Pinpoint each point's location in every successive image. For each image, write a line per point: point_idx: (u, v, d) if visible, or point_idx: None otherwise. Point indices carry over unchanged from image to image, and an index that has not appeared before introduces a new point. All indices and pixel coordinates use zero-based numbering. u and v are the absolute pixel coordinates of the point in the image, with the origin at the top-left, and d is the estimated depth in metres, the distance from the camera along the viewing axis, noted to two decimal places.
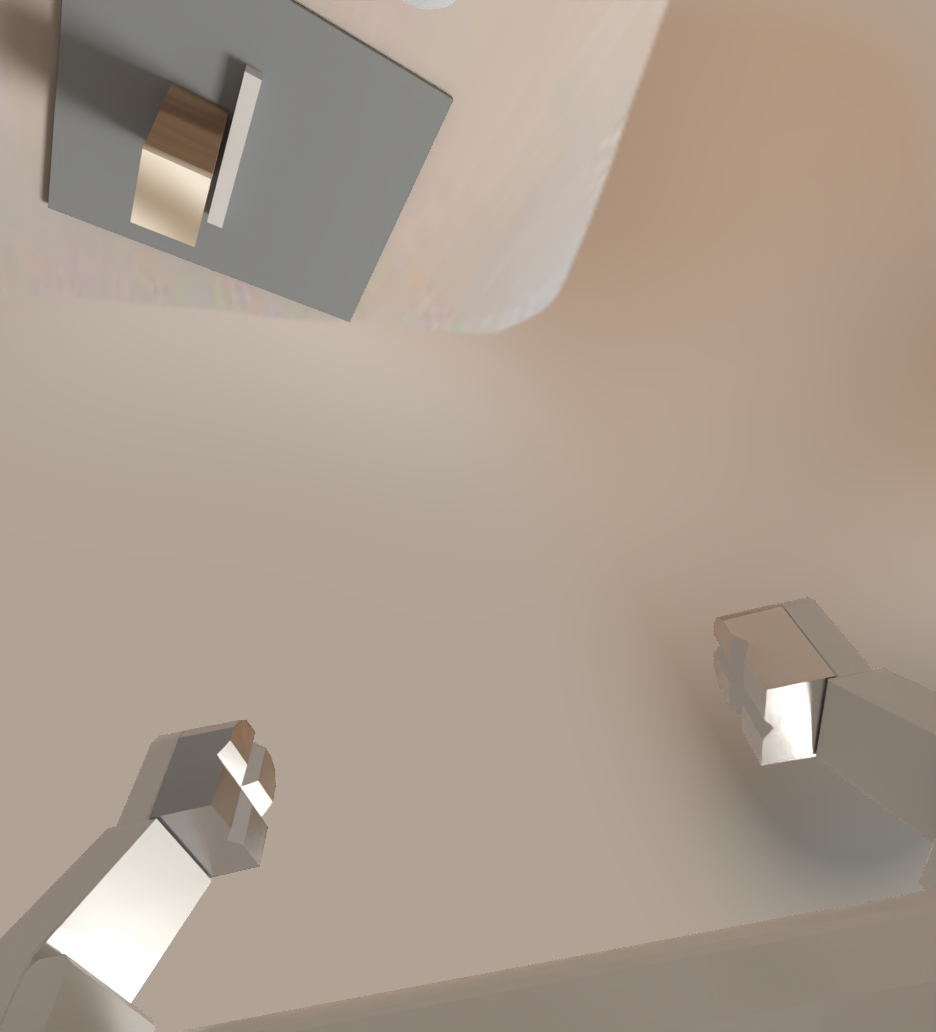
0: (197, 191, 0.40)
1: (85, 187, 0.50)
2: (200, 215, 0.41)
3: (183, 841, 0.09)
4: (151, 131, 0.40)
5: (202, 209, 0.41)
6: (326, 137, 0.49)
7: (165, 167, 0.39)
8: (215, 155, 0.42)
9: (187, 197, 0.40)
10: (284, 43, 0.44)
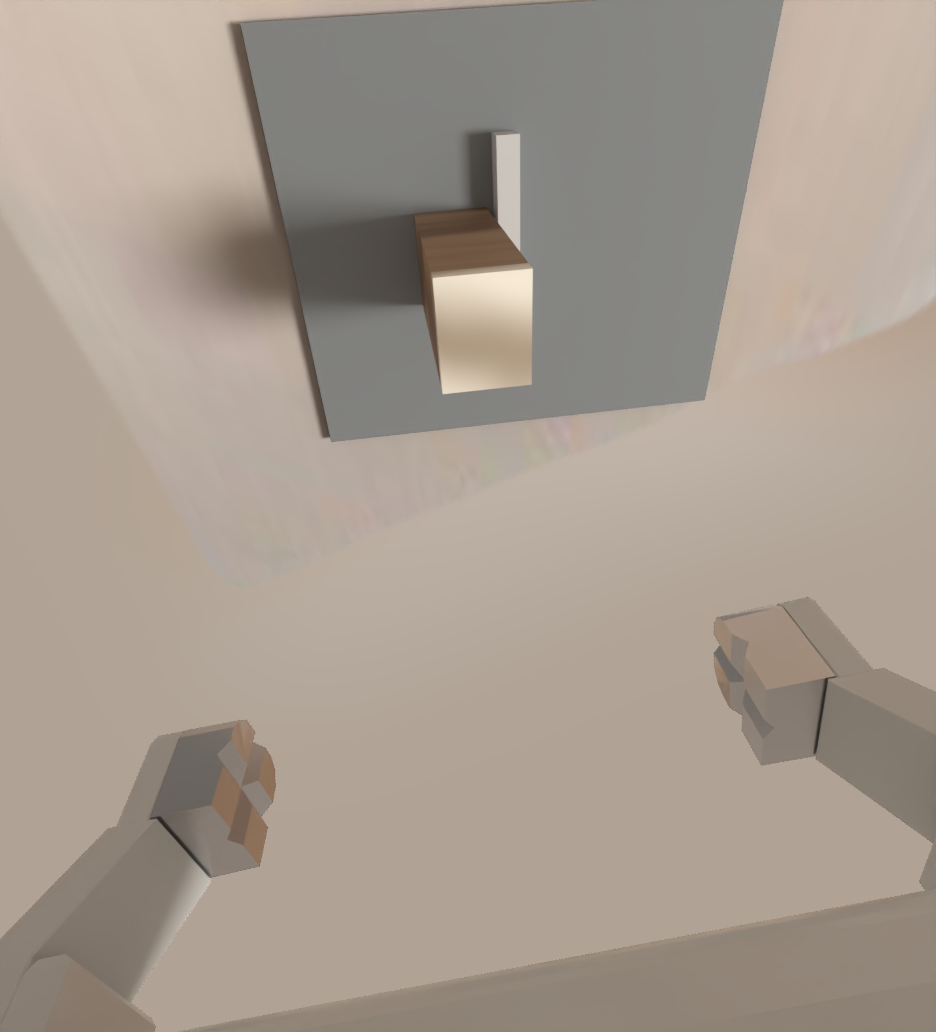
0: (518, 298, 0.25)
1: (360, 398, 0.40)
2: (529, 333, 0.26)
3: (183, 841, 0.09)
4: (428, 258, 0.26)
5: (530, 322, 0.26)
6: (615, 165, 0.34)
7: (468, 287, 0.25)
8: (513, 246, 0.27)
9: (506, 316, 0.26)
10: (530, 70, 0.31)
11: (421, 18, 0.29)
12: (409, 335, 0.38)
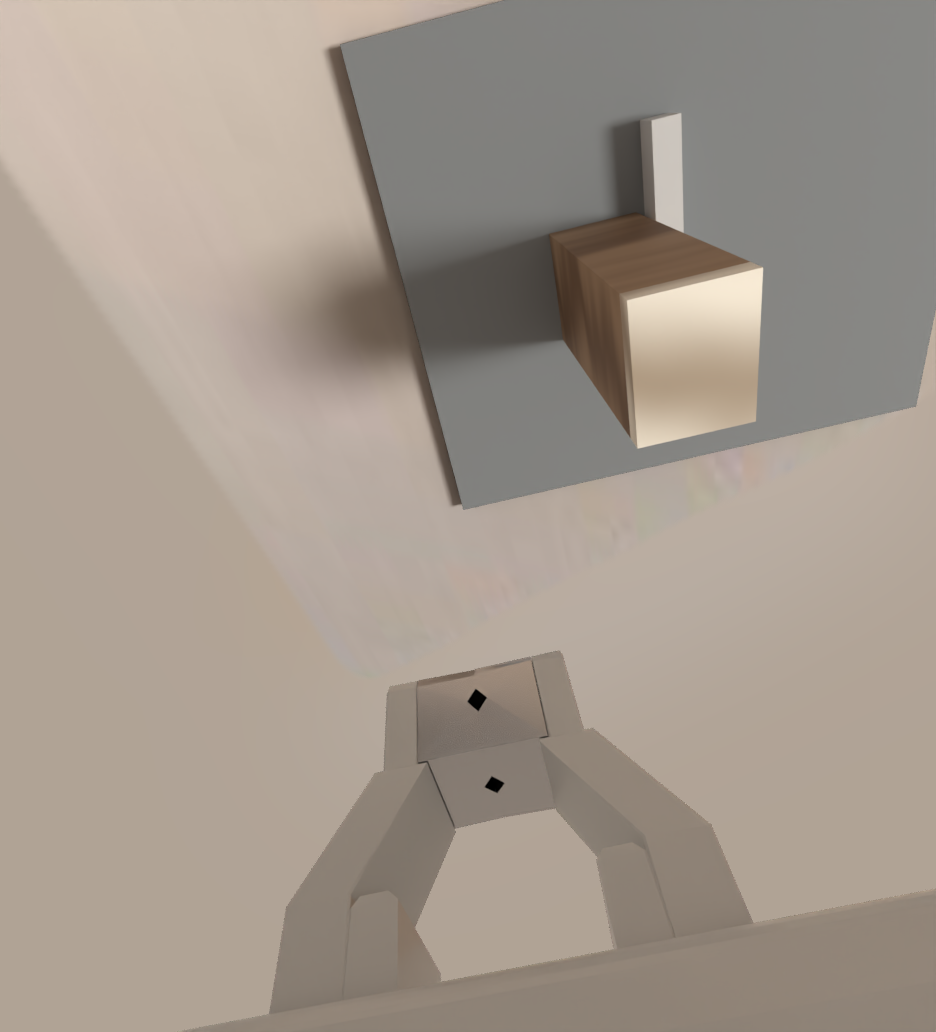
0: (741, 311, 0.19)
1: (494, 456, 0.34)
2: (755, 354, 0.19)
3: (443, 788, 0.09)
4: (604, 278, 0.20)
5: (757, 340, 0.19)
6: (796, 133, 0.27)
7: (674, 306, 0.18)
8: (709, 246, 0.21)
9: (725, 336, 0.19)
10: (686, 34, 0.25)
11: None
12: (548, 377, 0.32)
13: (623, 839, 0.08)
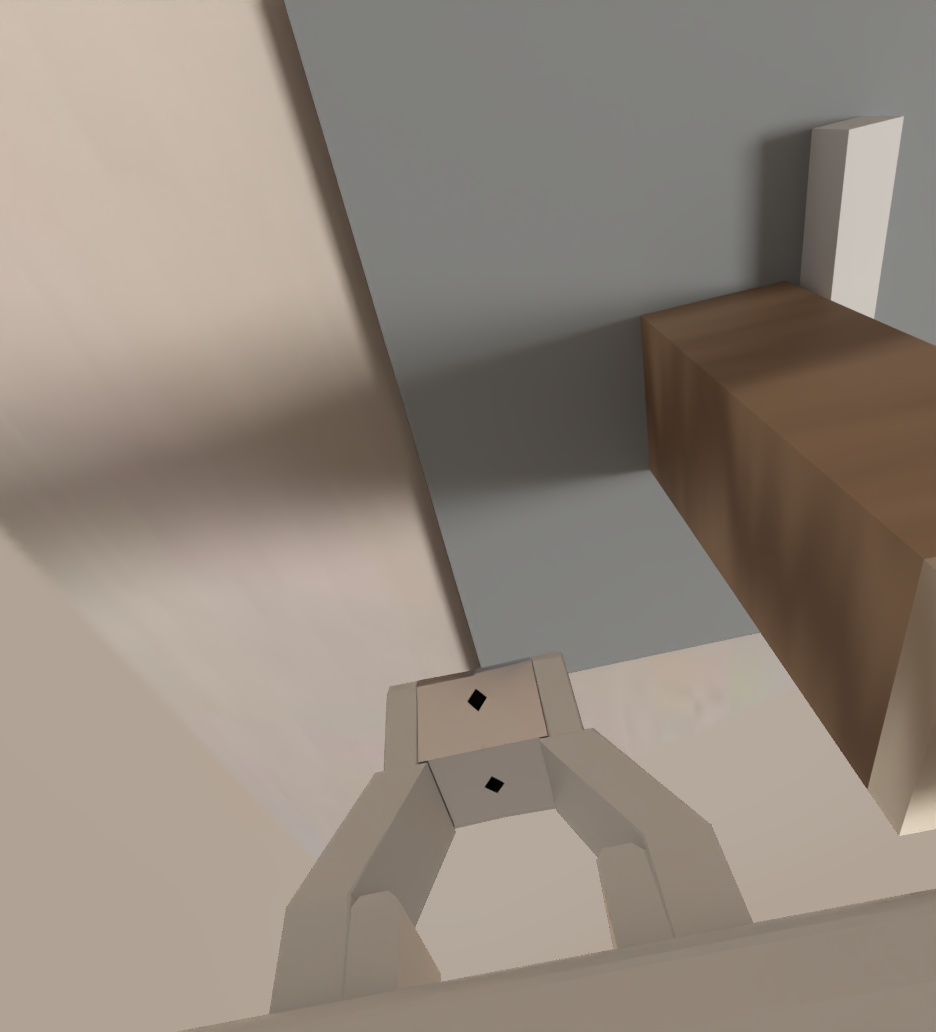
0: None
1: (536, 624, 0.23)
2: None
3: (443, 787, 0.09)
4: (836, 479, 0.09)
5: None
6: None
7: None
8: None
9: None
10: None
11: None
12: (623, 521, 0.21)
13: (623, 839, 0.08)
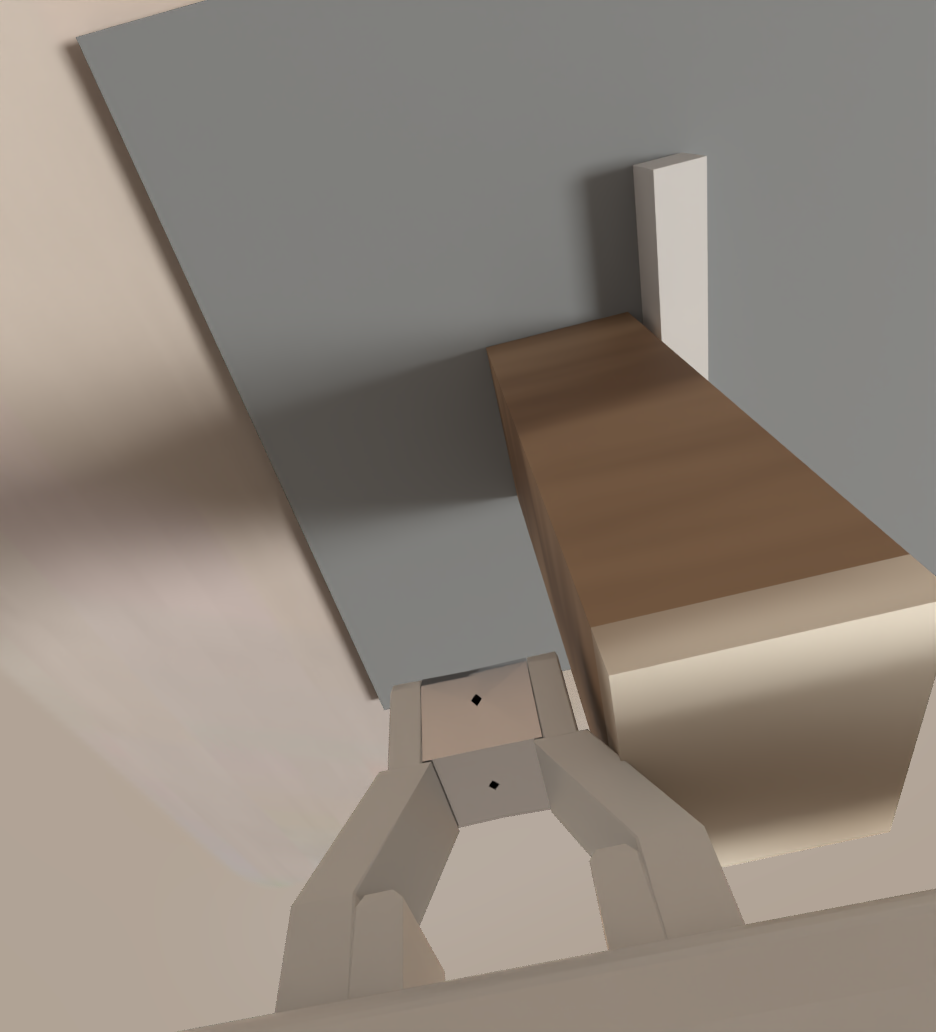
0: (889, 676, 0.08)
1: (423, 646, 0.23)
2: (908, 740, 0.08)
3: (447, 787, 0.09)
4: (561, 536, 0.09)
5: (917, 719, 0.08)
6: (900, 184, 0.16)
7: (727, 678, 0.07)
8: (784, 453, 0.10)
9: (844, 718, 0.08)
10: (715, 15, 0.14)
11: None
12: (497, 545, 0.21)
13: (616, 840, 0.08)
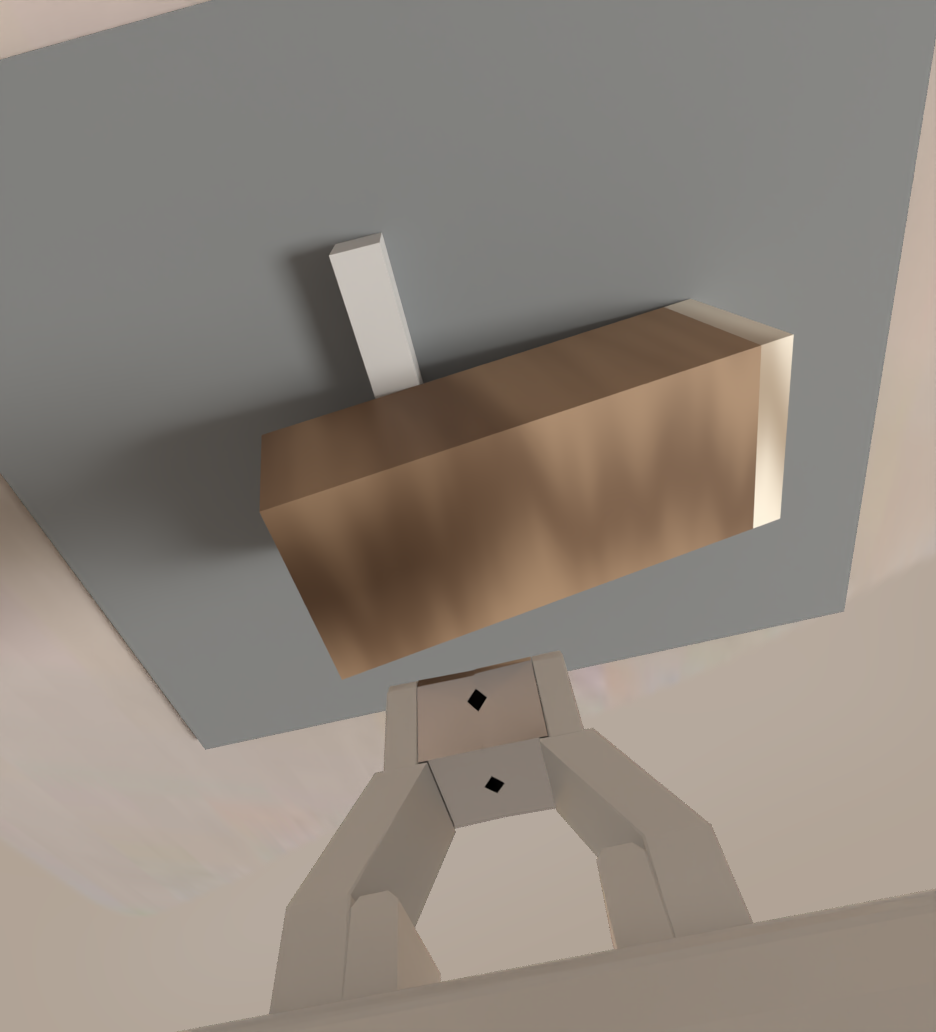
0: None
1: (231, 689, 0.24)
2: None
3: (443, 788, 0.09)
4: (677, 371, 0.13)
5: None
6: (609, 259, 0.16)
7: None
8: (572, 337, 0.16)
9: None
10: (384, 106, 0.14)
11: (115, 45, 0.13)
12: (283, 595, 0.21)
13: (623, 839, 0.08)
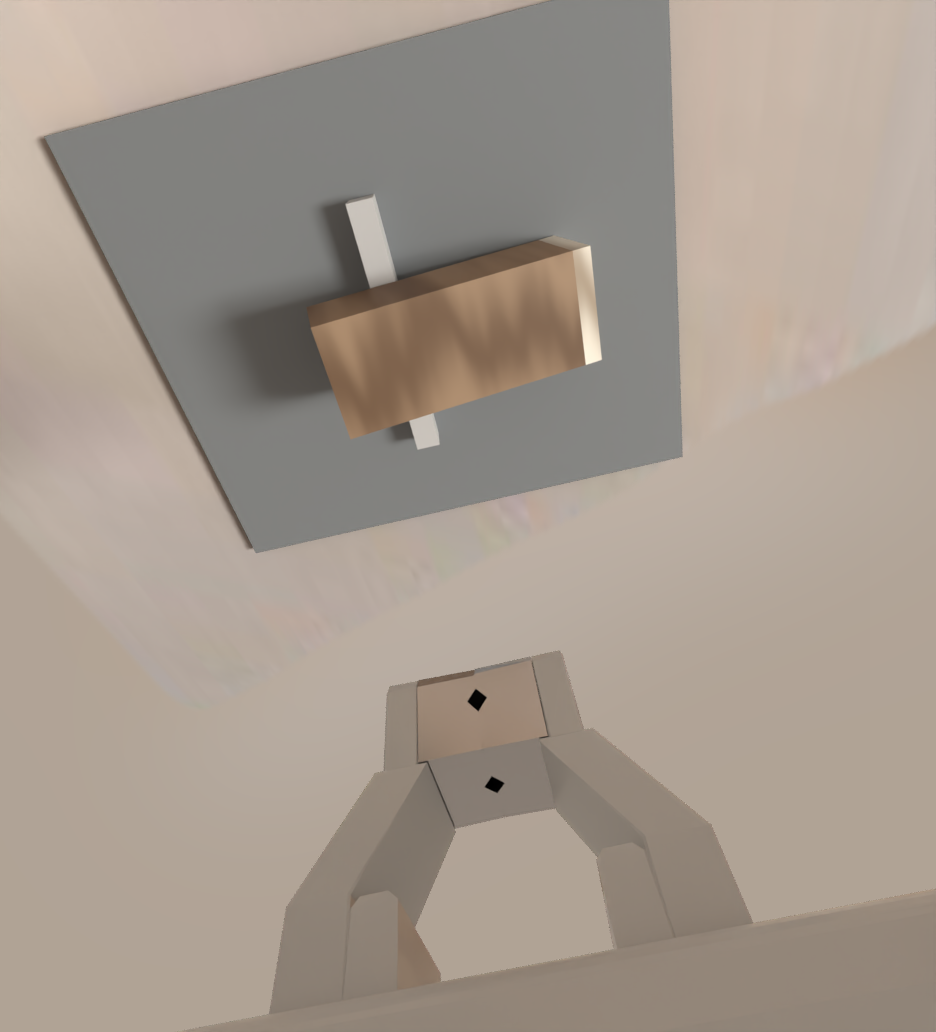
0: None
1: (275, 504, 0.36)
2: None
3: (443, 788, 0.09)
4: (527, 263, 0.25)
5: None
6: (504, 211, 0.28)
7: None
8: (483, 256, 0.29)
9: None
10: (375, 124, 0.26)
11: (237, 93, 0.25)
12: (312, 431, 0.33)
13: (623, 839, 0.08)
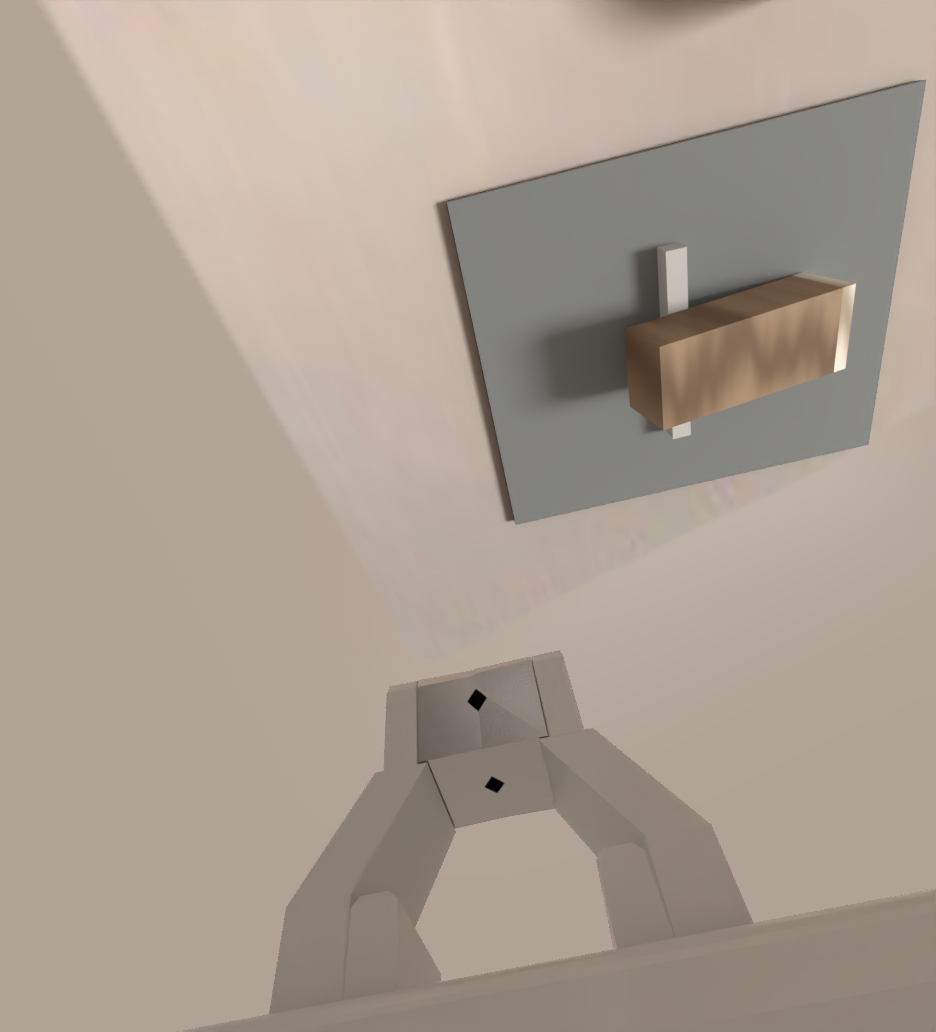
0: None
1: (542, 484, 0.44)
2: None
3: (443, 788, 0.09)
4: (810, 297, 0.34)
5: None
6: (770, 254, 0.37)
7: None
8: (753, 288, 0.37)
9: None
10: (690, 191, 0.35)
11: (595, 170, 0.34)
12: (585, 425, 0.42)
13: (623, 839, 0.08)
